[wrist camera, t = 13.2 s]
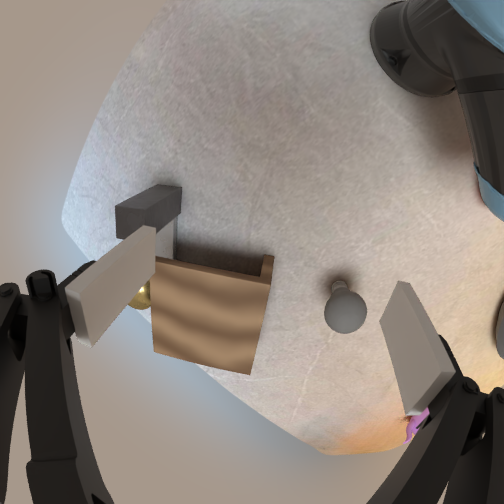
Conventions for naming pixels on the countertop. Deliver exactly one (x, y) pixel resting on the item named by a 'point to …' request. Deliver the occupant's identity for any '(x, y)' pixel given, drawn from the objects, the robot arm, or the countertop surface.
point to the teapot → (415, 424)
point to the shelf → (208, 313)
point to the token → (142, 298)
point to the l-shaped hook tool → (152, 216)
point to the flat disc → (500, 332)
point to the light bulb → (344, 309)
